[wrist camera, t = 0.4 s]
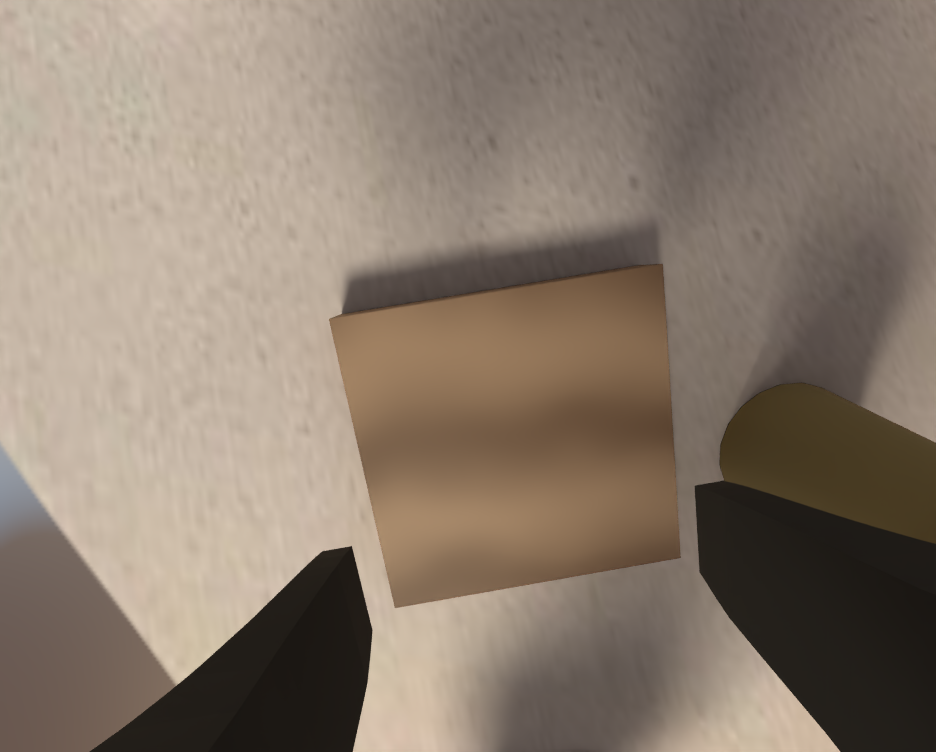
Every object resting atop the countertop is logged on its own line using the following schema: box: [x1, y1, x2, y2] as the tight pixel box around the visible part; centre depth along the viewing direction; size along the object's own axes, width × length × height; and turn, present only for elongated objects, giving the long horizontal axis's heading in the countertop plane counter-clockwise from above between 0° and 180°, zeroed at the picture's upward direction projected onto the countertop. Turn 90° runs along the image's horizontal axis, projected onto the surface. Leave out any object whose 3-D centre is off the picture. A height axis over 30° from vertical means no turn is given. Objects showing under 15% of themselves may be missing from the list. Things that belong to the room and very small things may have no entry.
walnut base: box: [329, 264, 681, 608], centre depth 18 cm, size 12×12×2 cm
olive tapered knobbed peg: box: [720, 383, 936, 544], centre depth 15 cm, size 6×6×11 cm
